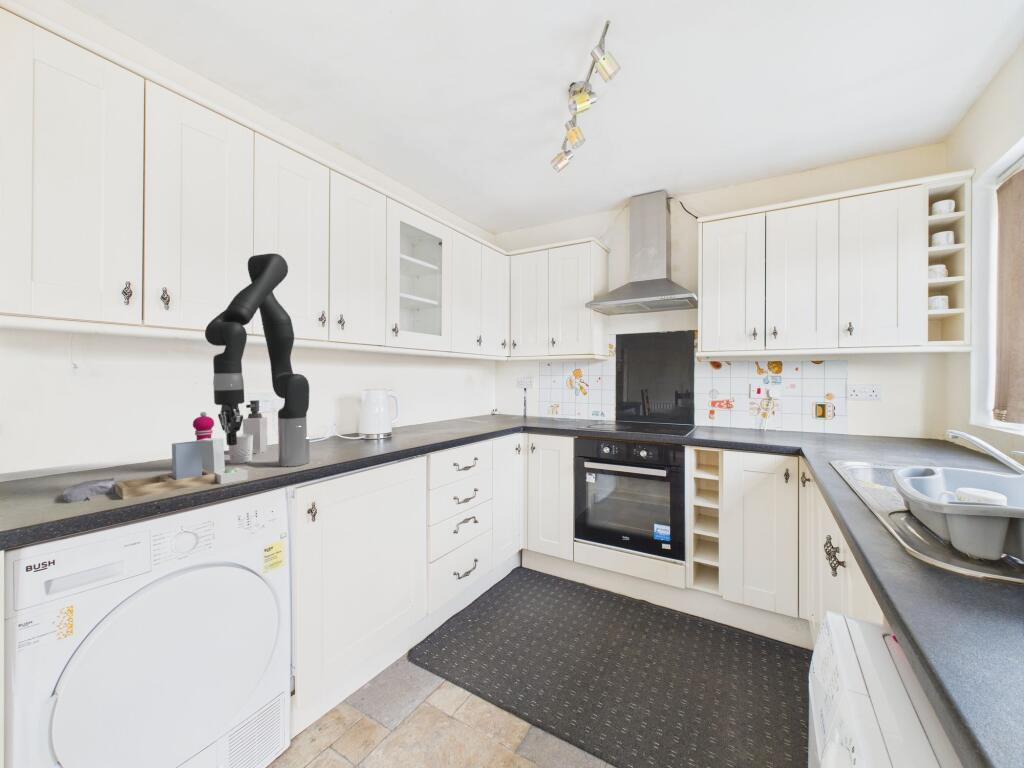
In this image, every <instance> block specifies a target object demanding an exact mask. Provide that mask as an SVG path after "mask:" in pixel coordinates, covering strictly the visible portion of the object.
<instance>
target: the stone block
mask: <svg viewBox="0 0 1024 768" xmlns="http://www.w3.org/2000/svg"><path fill="white" fill-rule="evenodd" d="M115 483H116V482H115V478H114V477H112V478H104V479H95V480H94V479H92V480H91V479H90V480H87V481H83V482H81V483H78V484H73V485H70V486H68V487H67V488H66V489H65V490H64V492H63V494H62V496H63V499H64V501H65V502H67V501H69V502H68V503H70V502H74V503H78V502H77V501H82V502H86V500H88V501H91V500H90V498H89V497H93V496H100V495H108V494H112V493H116V492H115Z"/></svg>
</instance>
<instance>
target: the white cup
mask: <svg viewBox="0 0 1024 768" xmlns="http://www.w3.org/2000/svg"><path fill="white" fill-rule="evenodd" d="M236 436H237V444H236V445H231V446H230V445H228V451H229V452H228V453H229V461H230V464H232V463H234V464H246V463H245V462H247V463H249V461H251V462H252V461H253V454H252V449H253V435H252V434H243V433H242V434H241V433H240V434H236Z"/></svg>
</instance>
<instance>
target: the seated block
mask: <svg viewBox="0 0 1024 768" xmlns="http://www.w3.org/2000/svg"><path fill="white" fill-rule="evenodd" d="M171 455H172V456H171V459H172V461H171V462H172V463H171V464H172V474H173V480H179V479H185V478H191V477H197V476H202V447H201V442H199V441H197V440H195V441H194V440H192V441H184V442H175V443H171Z"/></svg>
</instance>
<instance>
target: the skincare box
mask: <svg viewBox="0 0 1024 768" xmlns="http://www.w3.org/2000/svg"><path fill="white" fill-rule="evenodd" d="M196 441H199V442H201V447H202V469H204V470H206V471H208V472H211V473H213V472H216V471H222V470H226V467H225V465H226V464H225V448H224V447H225V446H224V438H213V437H211V438H206V439H201V440H197V439H196Z"/></svg>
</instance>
